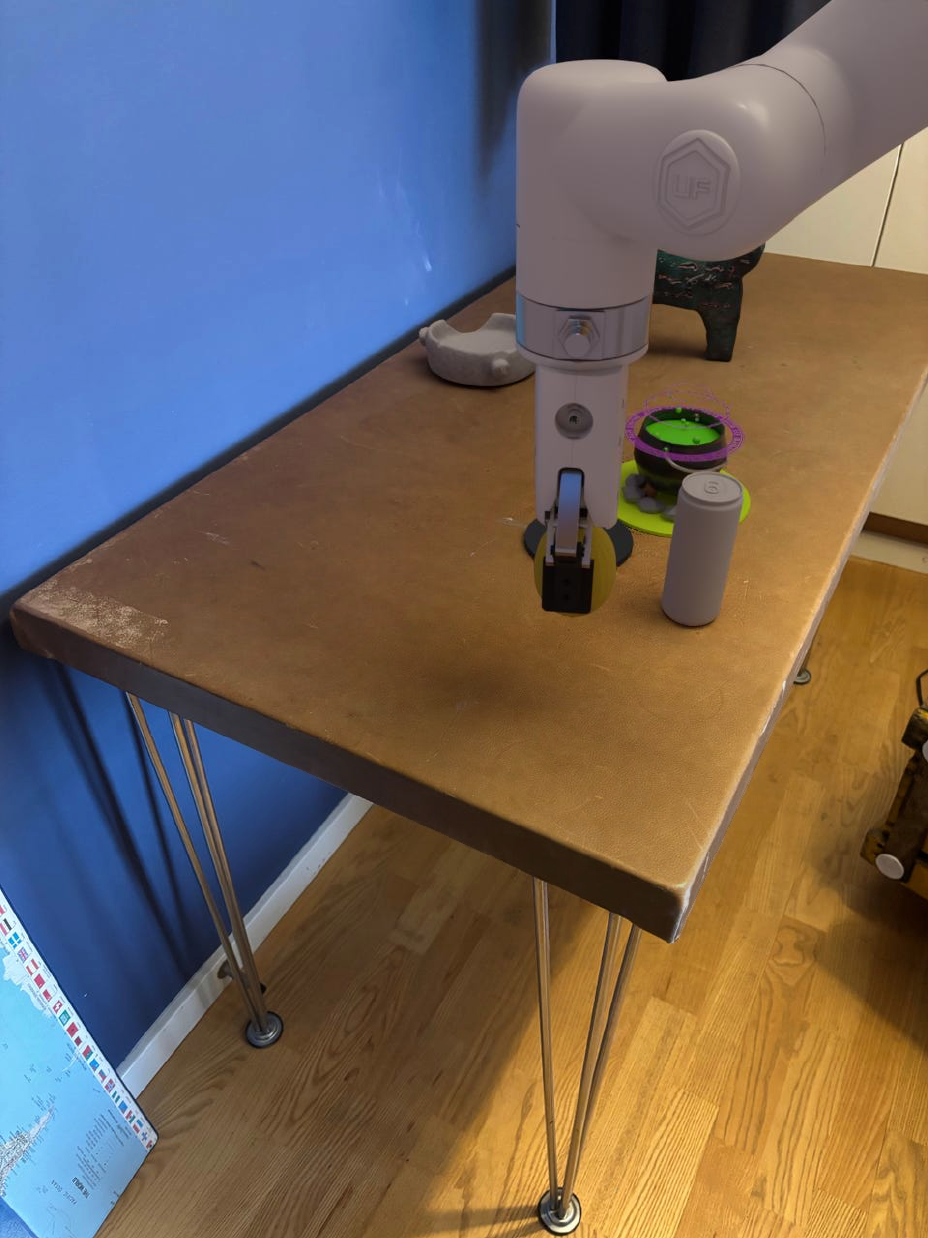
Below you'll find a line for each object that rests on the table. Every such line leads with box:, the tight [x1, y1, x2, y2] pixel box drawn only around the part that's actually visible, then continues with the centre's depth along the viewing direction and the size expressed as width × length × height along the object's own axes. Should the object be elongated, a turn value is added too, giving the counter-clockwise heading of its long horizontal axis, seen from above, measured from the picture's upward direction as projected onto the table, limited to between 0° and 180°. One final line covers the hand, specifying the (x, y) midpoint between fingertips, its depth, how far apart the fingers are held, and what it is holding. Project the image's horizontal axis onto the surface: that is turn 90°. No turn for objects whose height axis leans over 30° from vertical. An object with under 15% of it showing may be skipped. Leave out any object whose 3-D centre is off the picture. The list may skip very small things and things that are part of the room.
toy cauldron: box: [617, 382, 751, 538], centre depth 87 cm, size 15×15×11 cm
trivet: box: [523, 517, 634, 568], centre depth 84 cm, size 10×10×1 cm
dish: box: [418, 312, 536, 387], centre depth 113 cm, size 14×14×5 cm
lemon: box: [533, 524, 617, 619], centre depth 61 cm, size 6×6×8 cm
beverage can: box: [661, 471, 744, 627], centre depth 72 cm, size 5×5×12 cm
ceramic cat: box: [652, 241, 767, 362], centre depth 112 cm, size 20×6×20 cm, turn 76°
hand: (569, 580), depth 62 cm, fingers closed on lemon, 5 cm apart
